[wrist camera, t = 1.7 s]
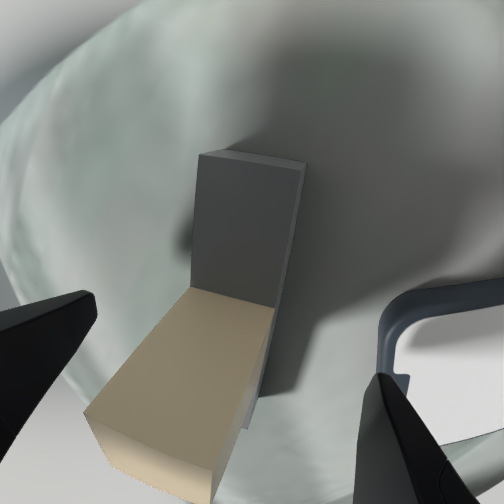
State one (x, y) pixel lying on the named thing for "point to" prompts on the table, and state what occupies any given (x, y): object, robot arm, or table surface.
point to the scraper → (207, 333)
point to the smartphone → (448, 356)
